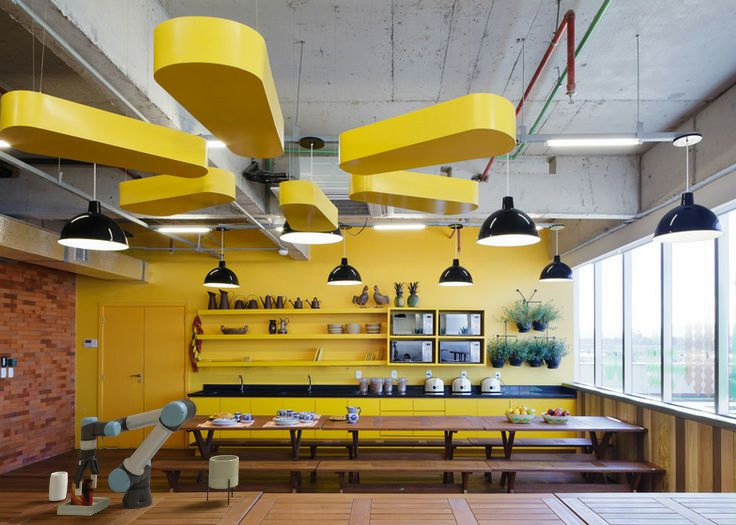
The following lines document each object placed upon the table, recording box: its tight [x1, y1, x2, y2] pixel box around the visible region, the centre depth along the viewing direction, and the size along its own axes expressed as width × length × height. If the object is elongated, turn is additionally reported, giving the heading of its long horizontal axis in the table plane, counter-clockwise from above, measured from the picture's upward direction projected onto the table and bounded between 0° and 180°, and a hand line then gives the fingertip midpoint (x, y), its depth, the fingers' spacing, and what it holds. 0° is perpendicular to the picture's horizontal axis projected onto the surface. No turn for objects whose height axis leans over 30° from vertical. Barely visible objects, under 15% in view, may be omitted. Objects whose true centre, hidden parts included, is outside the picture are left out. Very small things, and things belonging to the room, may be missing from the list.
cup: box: [48, 471, 69, 502], centre depth 302 cm, size 8×8×14 cm
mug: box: [70, 478, 94, 506], centre depth 287 cm, size 10×14×12 cm
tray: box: [56, 496, 110, 516], centre depth 286 cm, size 18×16×4 cm
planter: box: [206, 454, 240, 506], centre depth 302 cm, size 15×16×23 cm
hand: (85, 491), depth 287 cm, fingers open, 13 cm apart
